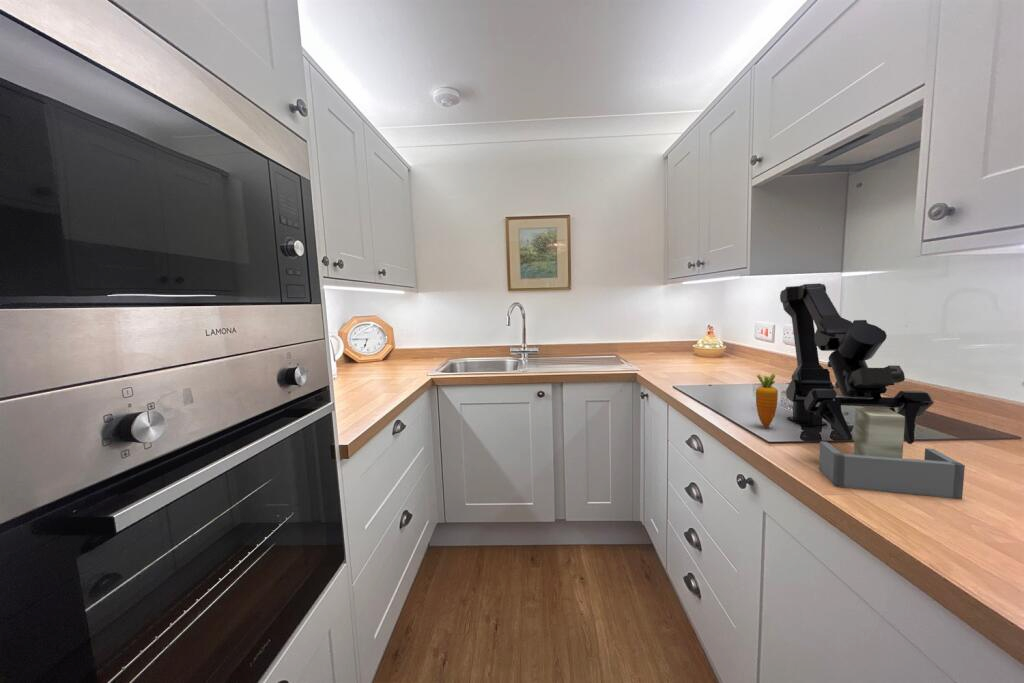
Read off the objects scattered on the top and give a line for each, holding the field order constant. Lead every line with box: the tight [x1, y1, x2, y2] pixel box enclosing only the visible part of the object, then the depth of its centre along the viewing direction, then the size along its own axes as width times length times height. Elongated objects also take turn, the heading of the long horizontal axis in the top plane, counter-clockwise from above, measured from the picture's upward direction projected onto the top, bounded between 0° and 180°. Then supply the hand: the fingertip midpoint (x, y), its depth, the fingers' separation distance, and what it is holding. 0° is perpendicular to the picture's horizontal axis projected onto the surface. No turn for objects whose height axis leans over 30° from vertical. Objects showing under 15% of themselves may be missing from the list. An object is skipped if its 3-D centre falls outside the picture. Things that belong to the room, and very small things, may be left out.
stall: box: [818, 441, 966, 500], centre depth 69 cm, size 7×17×6 cm, turn 70°
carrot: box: [755, 373, 779, 429], centre depth 99 cm, size 5×5×15 cm
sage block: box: [853, 407, 905, 458], centre depth 71 cm, size 5×5×13 cm
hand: (879, 441), depth 70 cm, fingers open, 9 cm apart
